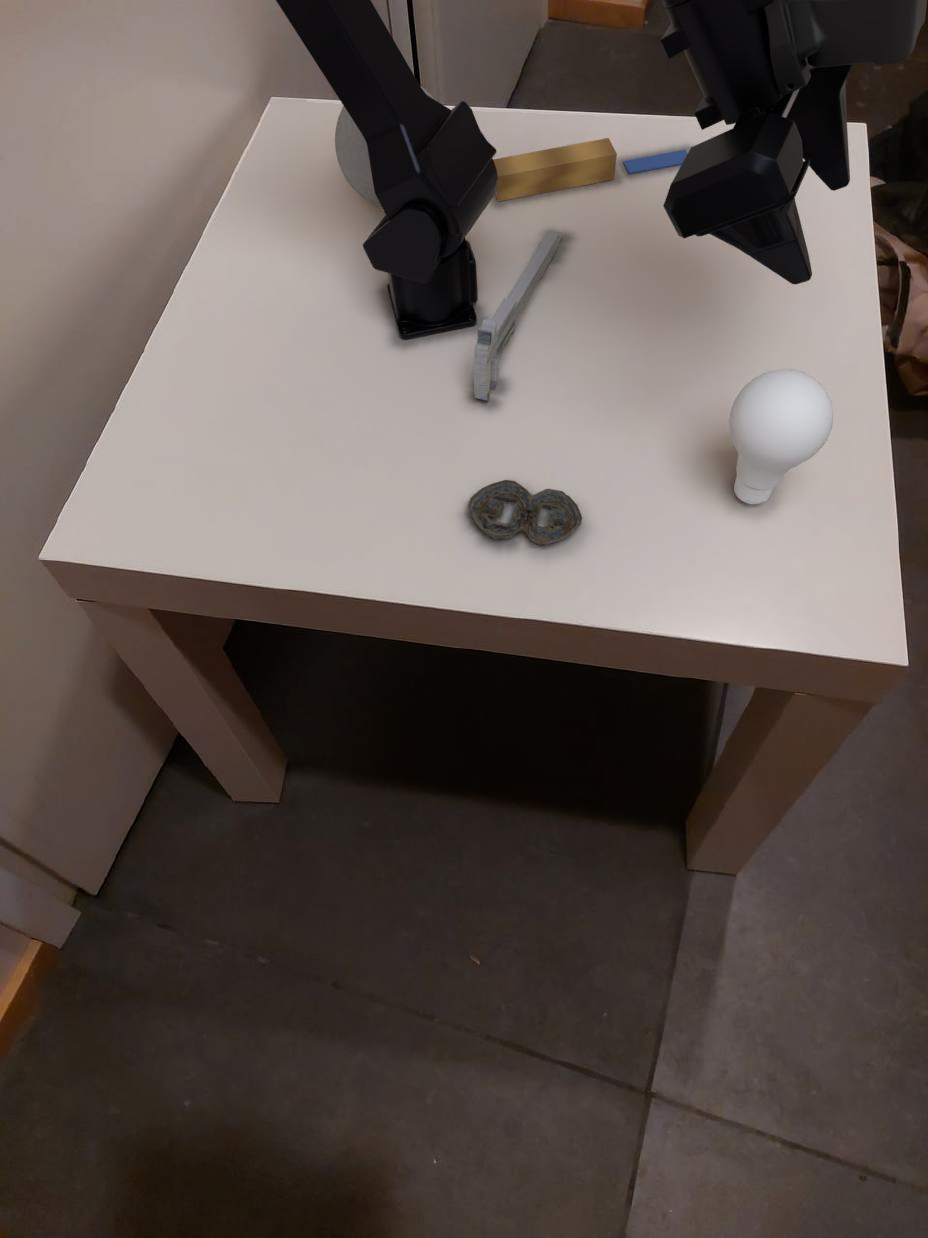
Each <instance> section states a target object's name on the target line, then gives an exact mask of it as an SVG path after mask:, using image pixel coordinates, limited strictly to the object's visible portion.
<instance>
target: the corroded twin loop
mask: <svg viewBox="0 0 928 1238" xmlns="http://www.w3.org/2000/svg"><path fill="white" fill-rule="evenodd" d="M504 500H506V501H509V502H515V505H514V508H513V512H512V515H511V516H512V517H511V519H510V521H509V522H506V523H504V522H501V521H494V520H492V519H495V518H496V517H501V516H502V514H503V511H504V509H505V501H504ZM543 507H544V508H546V509H549V510H550V512H549V515H548V521H547V526H548V527H547V526H541V525H539V524H538V523H537V522H538V519H539V516H540V513H541V508H543ZM467 508H468V512H469V515H470V517H471V519H472V520H473V521H474V523H475V524H476V525H477V526H478V528H479V529H480V531H482V532H484V533H485V534H486V535H487V536H488V537H490V538H491V539H493V540H498V539H501V540H502V539H504V540H509V539H511V538H513V537H514V536H515V535H517V534H518V533H522V532H524V533H525V534H526V536H527V537H528V538H529V540H531V542H533V543H535V544H536V545H538V546H547V545H550V544H557V543H558V542H560V541H562V540H565V539H567V538H569V537H570V536H571V535H572V534H573V533H574V532H575V531H576V530H577V529H578V528H579V527H580V526H581V524H582V521H583V516H582V513H581V511H580V508H579V506H578V504H577V503H576V502H575V501H574V500H573V498H572V497H571V496H570V495H568V494H566V493H565V492H564V491H562V490H559V489H552V488H545V489H543V490H541V491H539V492H537V493H535V494H534V493H533V494H532V493H530V492H529V490H528V489H527V488H525V487H524V486H523V485H522V484H520V483H519V482H517V481H515V480H511V479H503V480H500V481H497V482H493V483H490V484H488V485H486V486H483V487H482V488H481V489H479V490H478V491H477V492H475V493H474V494H473V495H472V496H471V497H470V499H469V501H468V504H467Z"/></svg>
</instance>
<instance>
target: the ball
mask: <svg viewBox="0 0 928 1238" xmlns="http://www.w3.org/2000/svg"><path fill="white" fill-rule="evenodd" d="M421 88H422V89H423V91H424V92H425V93H426V94H427V95H428V96H429V97H431V98H433V99H434V100H436V99H435V98H434V97H433V95H432V94H430V92H428V91H427V90H426V89H425V88H424V87H422V86H421ZM334 148H335V156H336V160H337V162H338V166H339V168H340V171H341V173H342V175H343V176H344V179H345V180H346V182H347V183H348V185H350V187H351V188H352V189H353V190H354V191H355V192H356V193H357V194H358V195H359V196H360V197H361V198H362V199H364V200H365V201H367V202H368V203H371V204H373V205H375V206H378V207H381V205H380V203H379V201H378V199H377V197H376V195H375V192H374V186H373V180H372V174H371V168H370V161H369V155H368V149H367V144H366V141H365V139H364V137H363V135H362V134H361V132H360V130H359V129H358V127H357V126H356V124H355V123H354V121H353V120H352V118H351V116H350V115H349V113H348V112H347V110H346V109H345V107H344V106H343V105H342V108H341V110H340V112H339V115H338V117H337V121H336V125H335V133H334Z"/></svg>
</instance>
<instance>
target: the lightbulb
mask: <svg viewBox="0 0 928 1238" xmlns="http://www.w3.org/2000/svg"><path fill="white" fill-rule="evenodd" d="M832 401H833V400H832V399H831V397H830V394H829V393H828V391H827V389H826V388H825V386H824V385H823V384H822V383H821V382H820V381H819V380H818V379H816V377H815V376H812V375H811V374H809V373H807V372H805V371H802V370H799V369H795V368H794V369H792V368H779V369H774V370H769V371H765V372H763V373H762V374H760V375H758V376H756V377H754V378H751V380H750V381H749V382H747V383H746V384H745V385H744V386H743V387H742V389H741V390H740V391H739V392H738V394H737V396H736V397H735V399H734V400H733V402H732V405H731V409H730V410H729V411H730V412H729V419H728V426H729V427H728V428H729V434H730V437H731V440H732V442H733V445H734V447H735V449H736V451H737V461H736V462H737V463H736V466H735V467H736V469H735V470H736V477H735V480H734V484H733V491H734V494H735V496H736V497H737V498H738V499H739V500H740V501H742V502H743V503H746V504H748V505H758V504H763V503H764V502H766V501H767V500H769V498H770V497H771V494H772V493H773V491H774V489H775V488H776V486H778V485H779V484H780V483H781V482H782V480H783V479H784V477H785V475H786V474H787V473H788V472H789V470H791V469H793V468H795V467H798V466H800V465H801V464H803V463H805V462H807V461H808V460H811V458H813V457H815V455H816V454H817V453H818V452H820V450H821V449H822V448H823V447H824V445H825V443H826V442H827V441H828V439H829V438H830V437H829V436H830V435H831V432H832V429H833V423H834V407H833V402H832Z"/></svg>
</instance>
